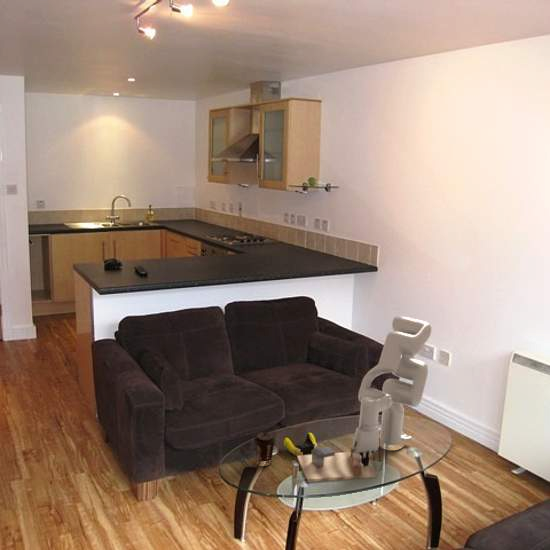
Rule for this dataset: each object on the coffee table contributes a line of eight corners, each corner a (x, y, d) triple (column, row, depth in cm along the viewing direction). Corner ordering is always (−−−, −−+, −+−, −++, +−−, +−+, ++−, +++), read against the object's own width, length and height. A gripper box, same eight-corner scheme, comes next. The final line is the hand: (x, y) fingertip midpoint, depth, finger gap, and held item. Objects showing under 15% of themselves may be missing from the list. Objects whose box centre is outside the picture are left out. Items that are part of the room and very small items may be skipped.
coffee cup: (262, 455, 264) (263, 428, 261) (277, 462, 259) (279, 434, 256) (249, 463, 257) (250, 436, 254) (265, 470, 253) (267, 442, 249)
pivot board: (363, 453, 269) (364, 440, 267) (377, 476, 252) (378, 462, 250) (297, 458, 263) (297, 444, 261) (307, 482, 246) (308, 467, 244)
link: (350, 452, 266) (350, 446, 265) (360, 453, 266) (360, 447, 265) (351, 475, 249) (352, 469, 248) (362, 476, 249) (363, 470, 248)
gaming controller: (281, 448, 271) (292, 459, 262) (282, 437, 269) (292, 448, 261) (310, 441, 277) (322, 452, 269) (311, 430, 276) (322, 441, 267)
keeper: (328, 458, 262) (329, 446, 260) (333, 464, 257) (334, 452, 256) (311, 462, 258) (312, 449, 257) (316, 468, 254) (317, 455, 252)
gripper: (379, 418, 258) (375, 457, 263) (348, 423, 253) (344, 462, 257) (388, 427, 251) (384, 466, 256) (356, 432, 246) (353, 472, 251)
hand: (364, 464), depth 257 cm, fingers closed
